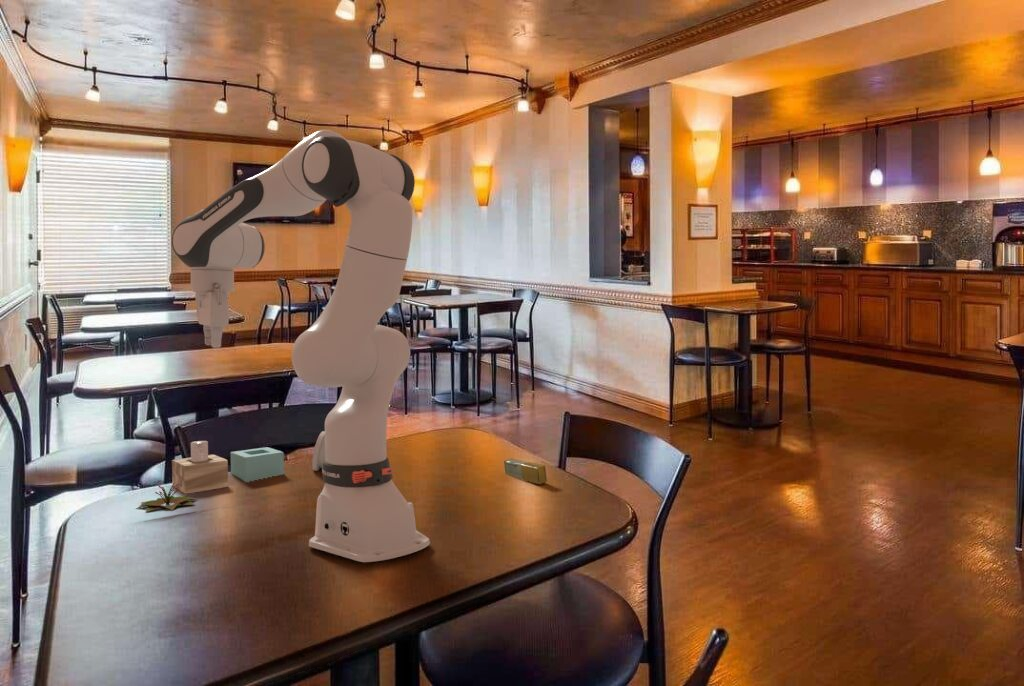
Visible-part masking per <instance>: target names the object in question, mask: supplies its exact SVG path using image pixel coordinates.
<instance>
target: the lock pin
mask: <svg viewBox="0 0 1024 686" xmlns="http://www.w3.org/2000/svg"><path fill="white" fill-rule="evenodd" d="M208 455H209V441H207V440H197V441H192V442H190V458H191V463H197V462H204V461H208Z"/></svg>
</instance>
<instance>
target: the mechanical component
mask: <svg viewBox="0 0 1024 686" xmlns="http://www.w3.org/2000/svg"><path fill="white" fill-rule="evenodd" d="M315 442H316V443H315V445H314V449H313V454H312V463H311V464H312V465H311V466H312V471H313V470H314V472H315V471H316V472H317V471H320V469H322V468H323V462H324V461H325V430H324V431H321V432H320V433H319V435H318V437H317V439H316V441H315Z"/></svg>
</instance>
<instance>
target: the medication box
mask: <svg viewBox="0 0 1024 686" xmlns="http://www.w3.org/2000/svg"><path fill="white" fill-rule="evenodd" d="M503 462H504V471H505V475H508V476H510V475H511V477H513V476H514V477H513V478H516V477H517V478H516V479H518V478H520V479H519V480H521V479H523V480H522V481H524V480H526V481H525V482H528V481H529V482H528V483H532V484H536V485H542V484H545V483H547V482H548V480H547V479H548V478H547V471H546V470H547V468H546V465H545V464H540V463H536V462H532V461H531V462H530V461H525V460H520V459H515V458H509V459H506V460H504V461H503Z"/></svg>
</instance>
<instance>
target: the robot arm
mask: <svg viewBox="0 0 1024 686" xmlns="http://www.w3.org/2000/svg"><path fill="white" fill-rule="evenodd" d="M415 182H416V181H415V174H414V172H413V169H412V167H411V166H410V165H409V164H408V163H407V162H406V161H404V160H403V159H402V158H400V157H398V156H396V155H395V154H389V153H387V152H385V151H382V150H380V149H378V148H375V147H373V146H371V145H370V144H368V143H364V142H359V141H354V140H350V139H346V138H345V136H343V134H340V133H339V132H336V131H334V130H332V129H320V130H318V131H315V132H314V133H312V134H310V135H308V136H306V138H304V139H303V140H301V141H300V142H298V144H296V145H295V146H294V147H292V148H291V150H289V151H288V152H287V153H286V154H285V155H284V156H283V157H282V158H281V159H280V160H279V161H277V162H275V164H273V165H272V166H270V167H269V168H267V169H265V170H263V171H262V172H260V173H258V174H255V175H253V176H251V177H249V178H247V179H244V180H242V181H240V182H239V183H237V184H236V185H234V186H232V187H231V188H230V189H229V190H227V191H226V192H224V193H223V194H222V195H221V196H219V197H218V198H216V199H215V200H214V201H213V202H211V203H210V204H209V205H208V206H206V207H205V208H204V209H201V210H198V211H196V212H195V213H194V215H189V216H186V217H185V218H184V219H183V220H181V221H180V222H179V224H178V225H177V226H176V227H175V228H174V230H173V233H172V237H171V247H172V249H173V251H174V253H175V255H176V256H177V258H178V259H179V260H180V261H181V262H182V263H183V264H185V265H186V267H187V268H188V267H189V268H190V291H191V292H193V293H194V296H195V297H194V298H195V308H196V317H197V321H198V324H199V325H203V333H204V345H206V346H211V347H212V348H213V349H217V348H218V349H219V348H221V347H222V339H223V332H224V331H223V330H224V329H223V328H227V327H228V326H229V321H230V320H229V319H230V318H229V313H230V312H229V293H234V292H235V271H234V269H250V268H255V267H256V266H257V265H259V264H260V262H261V261H262V259H263V257H264V255H265V247H266V245H265V240H264V236H263V234H262V232H261V231H260V230H259V229H258V228H257V227H255V226H254V225H250V224H247V223H244V222H246V221H249V220H251V219H257V218H266V217H299V216H300V217H301V216H304V215H307V214H309V213H311V212H313V211H315V210H316V209H318V208H319V207H321V206H322V205H323V204H324V203H325V202H326V201H328V202H329V203H330V204H331V205H333V207H335V208H339V207H341V206H342V205H344V206H345V207H346V208H347V209H348V211H349V214H350V225H349V226H350V227H349V230H348V233H347V238H346V242H345V248H344V251H343V257H342V261H341V265H340V269H339V274H338V278H337V281H336V285H335V287H334V290H333V292H332V294H331V297H330V298H329V301H328V302H327V304H326V306H325V307H324V309H323V310H322V312H321V313H320V315H319V316H318V318H317V319H316V320H315V321H314V322H313V323H312V325H311V326H309V328H308V329H306V330H304V331H303V332H301V334H299V336H298V337H297V338H296V340H295V341H294V343H293V347H292V351H291V363H292V367H293V369H294V372H295V374H296V375H297V377H298V378H299V380H300V381H302V383H305V384H306V385H309V386H316V387H321V388H329V389H331V388H332V389H334V388H341V387H342V389H341V392H340V395H339V398H338V400H337V403H336V404H335V406H334V407H333V408H332V409H331V410H330V411H329V412H328V414H327V415H326V417H325V419H324V431H325V461H324V462H323V468H321V471H322V472H321V474H322V481H323V482H324V485H323V488H322V491H321V492H320V494H319V495H318V497H317V498H316V499H317V500H316V511H315V513H316V514H315V530H314V536H313V537H311V538H310V539H309V540H308V547H310V548H313V549H316V550H318V551H319V550H320V551H324V552H326V553H329V554H333V555H335V556H341V557H343V558H346V559H349V560H353V561H356V562H361V563H371V562H372V563H373V562H379V561H387V560H391V559H395V558H398V557H403V556H407V555H411V554H412V553H415V552H418V551H421V550H423V549H425V548H426V547H428V546H429V545H430V544H431V543H430V539H429V537H427V536H426V535H425V534H423V533H421V532H419V531H418V530H417V527H416V525H417V524H416V518H415V508H414V504H413V502H409V501H407V499H406V498H405V497H404V496H403V494H402V493H401V491H400V490H399V488H398V487H397V486H396V485H395V483H394V481H393V480H392V479H393V478H394V477H393V474H395V472H394V471H392V470H394V469H395V467H393V466H392V464H391V463H390V460H389V457H388V456H387V428H388V427H387V423H388V421H387V420H388V413H389V407H390V403H391V399H392V396H393V394H394V393H393V392H394V390H395V387H396V384H397V382H398V380H399V378H400V377H401V375H402V373H404V371H405V370H406V368H407V367H408V365H409V363H410V360H411V359H410V358H411V347H410V344H409V341H408V339H407V337H406V336H405V335H404V333H402V332H401V331H399V330H398V329H395V328H394V327H393V328H392V327H389V326H385V325H382V324H379V322H380V320H381V319H382V317H383V316H384V314H385V313H386V312H388V310H389V309H391V308H393V306H394V305H395V304H396V303H397V301H398V299H399V296H400V294H401V288H402V284H403V279H404V275H405V271H406V266H407V261H408V259H409V258H408V257H409V252H410V248H411V247H410V246H411V239H412V232H413V207H412V205H411V203H410V200H411V199H412V197H413V194H414V191H415V186H416V185H415Z"/></svg>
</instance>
